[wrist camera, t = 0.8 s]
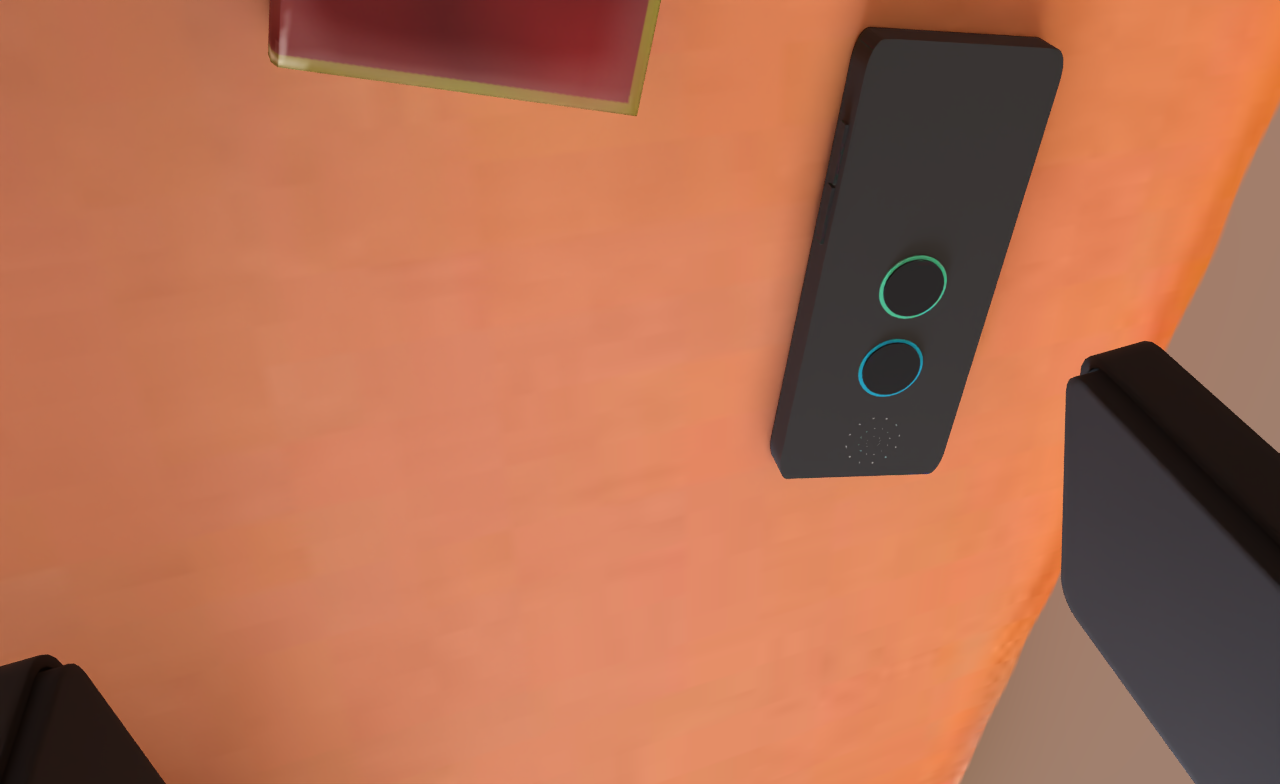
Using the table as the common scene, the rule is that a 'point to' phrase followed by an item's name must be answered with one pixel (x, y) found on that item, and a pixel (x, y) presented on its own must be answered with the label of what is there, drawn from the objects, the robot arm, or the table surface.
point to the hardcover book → (476, 46)
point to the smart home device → (909, 246)
